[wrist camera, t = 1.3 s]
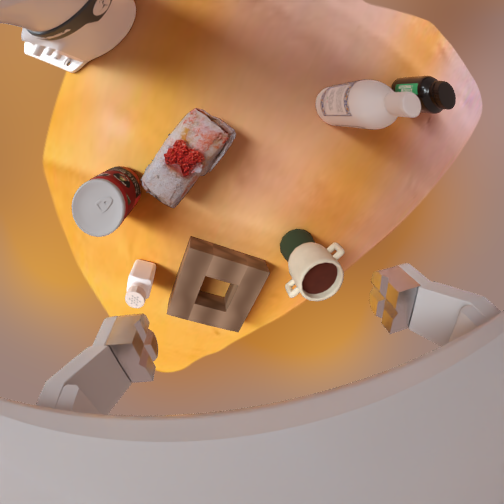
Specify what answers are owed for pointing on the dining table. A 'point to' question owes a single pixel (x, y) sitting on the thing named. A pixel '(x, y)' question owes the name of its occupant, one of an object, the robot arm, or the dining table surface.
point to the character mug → (311, 266)
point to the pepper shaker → (140, 283)
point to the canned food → (106, 201)
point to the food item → (187, 156)
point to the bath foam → (365, 105)
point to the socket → (221, 268)
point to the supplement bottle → (427, 92)
